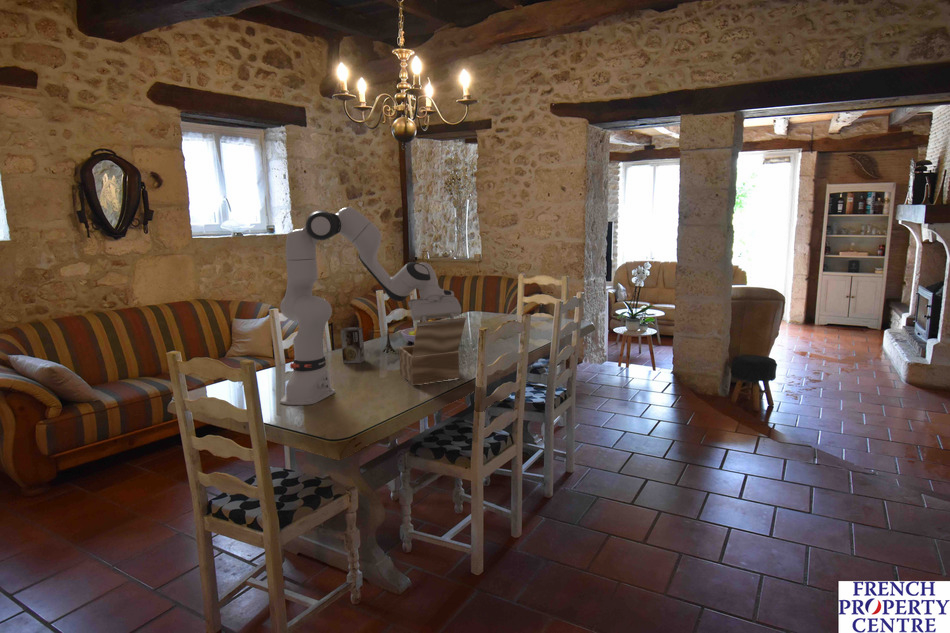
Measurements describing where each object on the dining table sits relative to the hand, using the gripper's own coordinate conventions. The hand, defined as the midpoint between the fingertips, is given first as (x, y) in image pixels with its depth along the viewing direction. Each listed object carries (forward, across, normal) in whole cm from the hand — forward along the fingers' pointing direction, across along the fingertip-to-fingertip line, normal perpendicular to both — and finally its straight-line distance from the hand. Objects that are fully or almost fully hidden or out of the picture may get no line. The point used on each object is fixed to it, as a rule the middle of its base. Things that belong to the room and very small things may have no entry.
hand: (440, 325), depth 224 cm
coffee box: (-24, -24, +60) cm, 69 cm away
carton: (+5, 0, +30) cm, 31 cm away
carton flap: (+1, 0, +6) cm, 6 cm away
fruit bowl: (-42, +20, +78) cm, 91 cm away
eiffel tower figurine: (-31, -5, +68) cm, 75 cm away
